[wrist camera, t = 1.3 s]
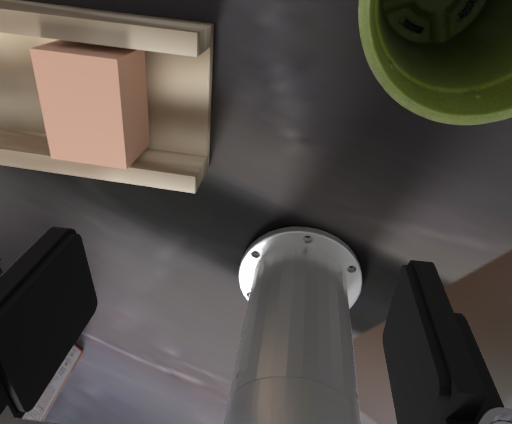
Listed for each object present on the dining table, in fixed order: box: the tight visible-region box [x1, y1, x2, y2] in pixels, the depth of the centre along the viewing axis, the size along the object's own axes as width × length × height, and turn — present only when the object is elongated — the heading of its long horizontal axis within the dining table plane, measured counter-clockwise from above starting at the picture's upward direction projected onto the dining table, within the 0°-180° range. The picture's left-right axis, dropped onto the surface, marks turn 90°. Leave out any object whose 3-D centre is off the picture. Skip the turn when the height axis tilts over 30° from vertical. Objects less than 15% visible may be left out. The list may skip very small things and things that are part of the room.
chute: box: [0, 0, 214, 193], centre depth 32 cm, size 12×25×5 cm, turn 85°
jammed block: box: [29, 40, 150, 169], centre depth 30 cm, size 8×6×5 cm
